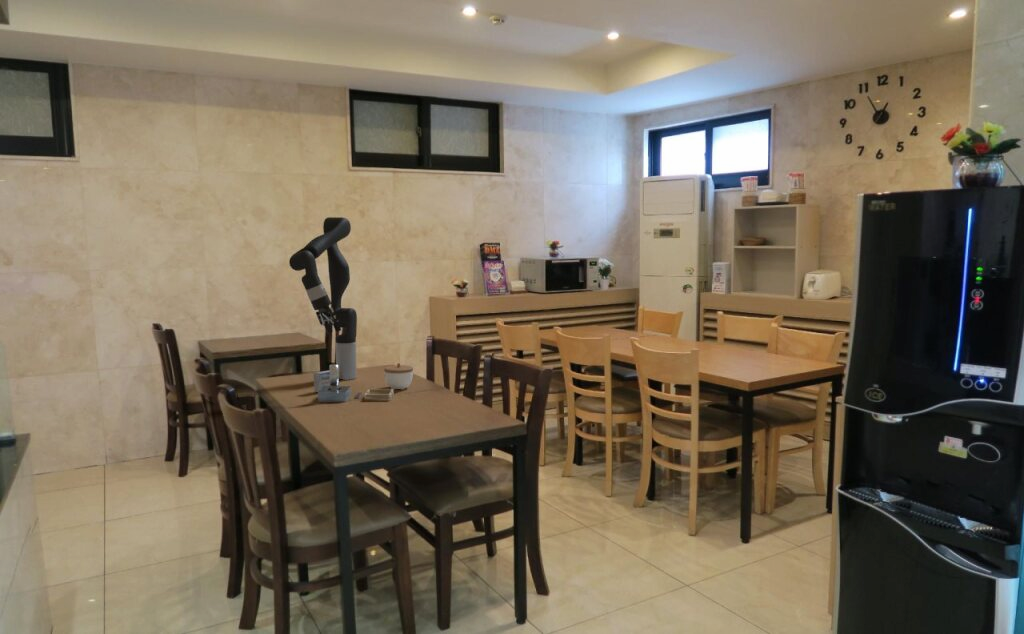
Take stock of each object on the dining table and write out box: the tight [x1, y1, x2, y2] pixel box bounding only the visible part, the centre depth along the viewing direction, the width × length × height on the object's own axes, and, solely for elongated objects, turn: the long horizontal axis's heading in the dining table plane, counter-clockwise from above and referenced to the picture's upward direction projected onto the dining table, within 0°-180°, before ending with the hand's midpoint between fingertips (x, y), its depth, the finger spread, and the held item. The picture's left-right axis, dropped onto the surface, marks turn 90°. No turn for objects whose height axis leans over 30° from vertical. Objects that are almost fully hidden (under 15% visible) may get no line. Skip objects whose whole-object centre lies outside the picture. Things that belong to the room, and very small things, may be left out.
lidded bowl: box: [383, 362, 414, 390], centre depth 297 cm, size 13×13×11 cm
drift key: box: [354, 392, 363, 399], centre depth 281 cm, size 7×2×1 cm, turn 3°
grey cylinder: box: [328, 363, 340, 391], centre depth 276 cm, size 4×4×14 cm
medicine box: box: [313, 370, 330, 393], centre depth 290 cm, size 8×4×9 cm, turn 143°
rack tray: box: [363, 388, 395, 402], centre depth 278 cm, size 10×10×2 cm
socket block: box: [317, 385, 352, 403], centre depth 276 cm, size 11×11×4 cm
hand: (334, 331), depth 286 cm, fingers open, 8 cm apart
